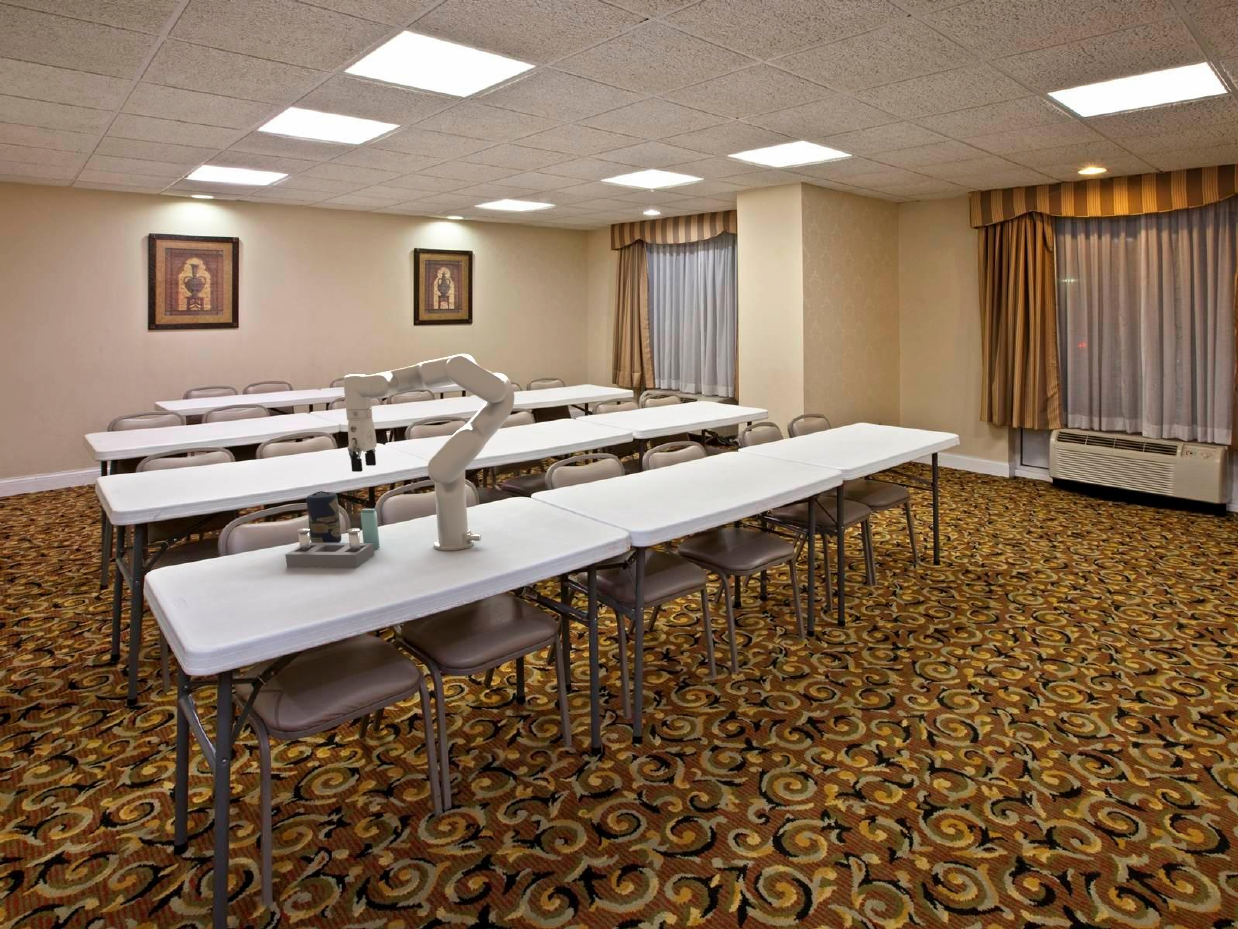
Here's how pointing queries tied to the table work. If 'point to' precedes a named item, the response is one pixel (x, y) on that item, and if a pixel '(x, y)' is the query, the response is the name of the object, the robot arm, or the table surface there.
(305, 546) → the plunger
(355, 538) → the plunger
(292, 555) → the housing
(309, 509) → the canister
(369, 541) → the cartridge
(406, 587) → the table surface
